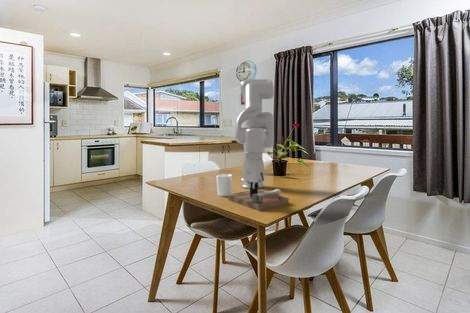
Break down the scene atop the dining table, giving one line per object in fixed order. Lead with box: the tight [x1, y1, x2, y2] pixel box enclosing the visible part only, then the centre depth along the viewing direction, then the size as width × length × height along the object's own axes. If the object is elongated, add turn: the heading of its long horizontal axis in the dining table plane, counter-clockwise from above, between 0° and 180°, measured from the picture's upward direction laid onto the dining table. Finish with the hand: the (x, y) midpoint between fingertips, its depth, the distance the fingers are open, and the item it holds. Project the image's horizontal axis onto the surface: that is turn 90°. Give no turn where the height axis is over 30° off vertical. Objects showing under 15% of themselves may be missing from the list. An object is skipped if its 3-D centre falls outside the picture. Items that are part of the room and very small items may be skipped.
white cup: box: [215, 173, 233, 197], centre depth 145 cm, size 8×8×10 cm
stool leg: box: [252, 188, 282, 203], centre depth 126 cm, size 16×3×3 cm, turn 129°
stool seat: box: [227, 189, 290, 211], centre depth 132 cm, size 22×18×6 cm
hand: (253, 196), depth 129 cm, fingers closed
